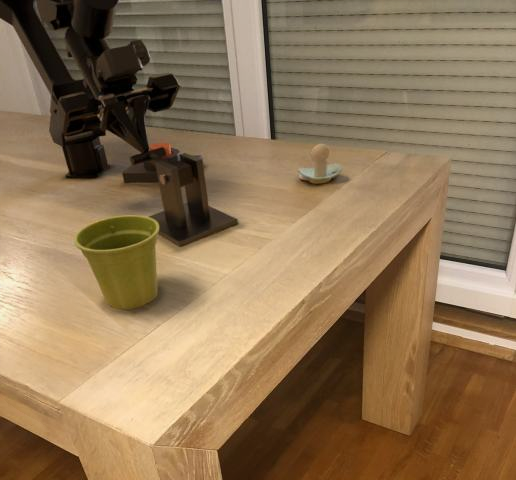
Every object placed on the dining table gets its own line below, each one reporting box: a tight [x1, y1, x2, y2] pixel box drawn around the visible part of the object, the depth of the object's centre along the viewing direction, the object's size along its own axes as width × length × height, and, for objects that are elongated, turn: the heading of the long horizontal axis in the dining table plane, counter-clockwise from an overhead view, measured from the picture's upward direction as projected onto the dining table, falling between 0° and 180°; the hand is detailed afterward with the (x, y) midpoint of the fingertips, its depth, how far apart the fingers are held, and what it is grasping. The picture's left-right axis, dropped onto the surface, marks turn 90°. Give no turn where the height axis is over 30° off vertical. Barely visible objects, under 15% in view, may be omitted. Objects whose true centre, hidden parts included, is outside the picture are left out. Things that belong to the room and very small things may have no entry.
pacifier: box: [297, 143, 343, 185], centre depth 93 cm, size 7×6×6 cm
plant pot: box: [73, 214, 159, 310], centre depth 65 cm, size 9×9×9 cm
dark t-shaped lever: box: [129, 147, 193, 187], centre depth 81 cm, size 11×6×2 cm, turn 38°
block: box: [121, 147, 204, 184], centre depth 101 cm, size 12×9×4 cm
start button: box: [149, 142, 172, 158], centre depth 99 cm, size 4×4×2 cm
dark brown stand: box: [148, 152, 239, 248], centre depth 81 cm, size 11×10×10 cm
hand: (146, 152), depth 84 cm, fingers closed, pressing on dark t-shaped lever
